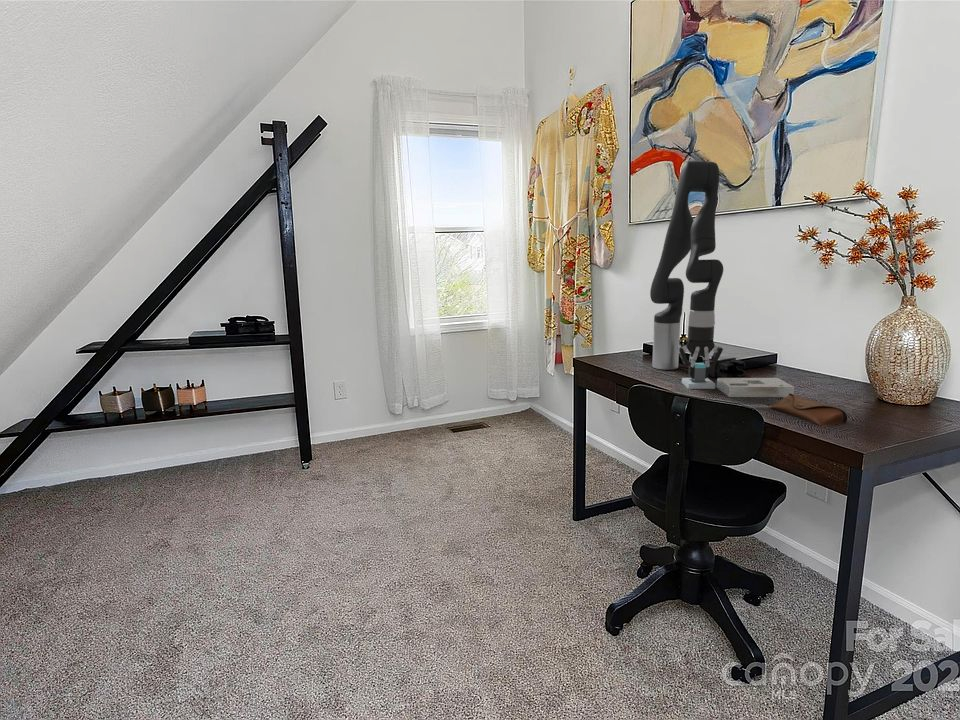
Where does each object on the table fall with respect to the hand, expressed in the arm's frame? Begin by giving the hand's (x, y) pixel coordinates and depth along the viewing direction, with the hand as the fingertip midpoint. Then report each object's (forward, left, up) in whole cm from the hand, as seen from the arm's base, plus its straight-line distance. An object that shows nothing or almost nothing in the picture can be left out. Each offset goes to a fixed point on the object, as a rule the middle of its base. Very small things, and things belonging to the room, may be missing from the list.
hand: (698, 377), depth 172 cm
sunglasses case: (+27, +20, -4) cm, 34 cm away
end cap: (-13, +13, -4) cm, 19 cm away
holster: (0, 0, -3) cm, 3 cm away
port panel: (+8, +14, -3) cm, 16 cm away
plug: (0, 0, -2) cm, 2 cm away
